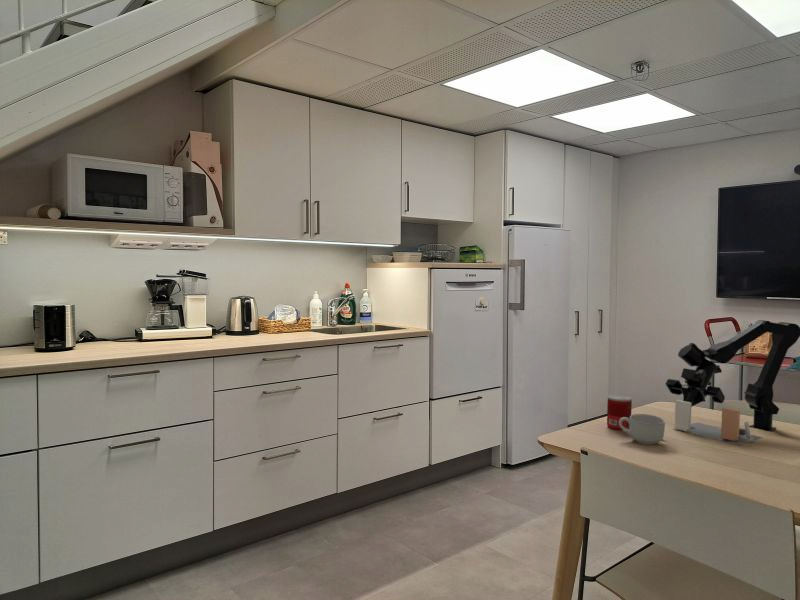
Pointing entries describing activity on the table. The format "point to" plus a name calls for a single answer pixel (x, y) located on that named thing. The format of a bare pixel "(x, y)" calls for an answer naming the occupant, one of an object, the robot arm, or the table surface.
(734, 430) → the tan rectangular block
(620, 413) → the canned food
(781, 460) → the table surface
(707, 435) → the panel
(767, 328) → the robot arm
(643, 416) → the teacup
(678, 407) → the cream paddle
